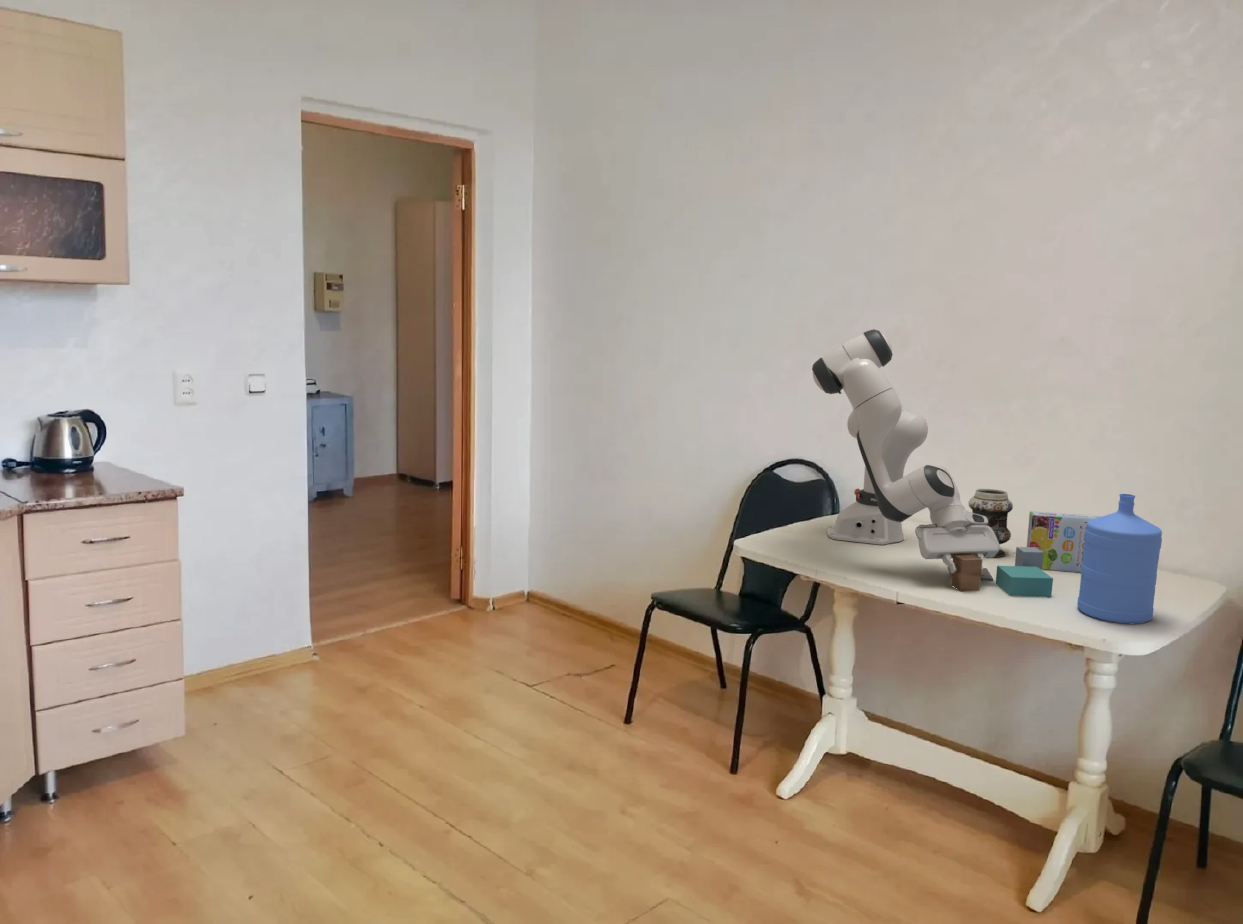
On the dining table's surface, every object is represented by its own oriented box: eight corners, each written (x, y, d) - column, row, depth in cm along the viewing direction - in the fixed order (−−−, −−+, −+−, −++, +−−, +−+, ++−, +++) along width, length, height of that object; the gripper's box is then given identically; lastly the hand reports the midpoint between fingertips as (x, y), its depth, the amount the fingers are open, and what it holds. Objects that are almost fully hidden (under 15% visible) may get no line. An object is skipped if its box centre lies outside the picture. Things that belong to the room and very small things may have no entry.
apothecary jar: (1002, 548, 279) (1007, 487, 276) (1014, 559, 267) (1020, 496, 264) (959, 546, 280) (964, 486, 277) (970, 557, 268) (975, 494, 265)
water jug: (1131, 629, 211) (1145, 505, 207) (1063, 610, 224) (1075, 492, 219) (1165, 616, 221) (1179, 497, 216) (1098, 598, 233) (1110, 485, 228)
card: (952, 578, 248) (952, 575, 248) (947, 567, 257) (947, 564, 257) (993, 581, 246) (993, 578, 246) (986, 570, 256) (986, 567, 255)
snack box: (1109, 570, 258) (1115, 515, 255) (1113, 576, 253) (1120, 520, 250) (1024, 563, 264) (1029, 509, 261) (1027, 568, 258) (1032, 514, 256)
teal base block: (1009, 596, 234) (1011, 577, 233) (995, 584, 244) (997, 565, 243) (1051, 598, 234) (1053, 578, 233) (1035, 585, 244) (1037, 566, 243)
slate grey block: (1021, 582, 246) (1023, 552, 244) (1013, 576, 251) (1016, 546, 249) (1040, 582, 246) (1043, 552, 244) (1033, 577, 250) (1035, 547, 249)
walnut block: (950, 585, 242) (953, 554, 240) (969, 584, 243) (971, 554, 241) (960, 591, 237) (963, 560, 235) (979, 590, 238) (982, 559, 236)
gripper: (917, 518, 242) (933, 566, 234) (992, 516, 245) (1010, 564, 237) (908, 531, 247) (923, 579, 239) (981, 529, 250) (999, 576, 243)
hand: (967, 571), depth 238 cm, fingers closed on walnut block, 5 cm apart
